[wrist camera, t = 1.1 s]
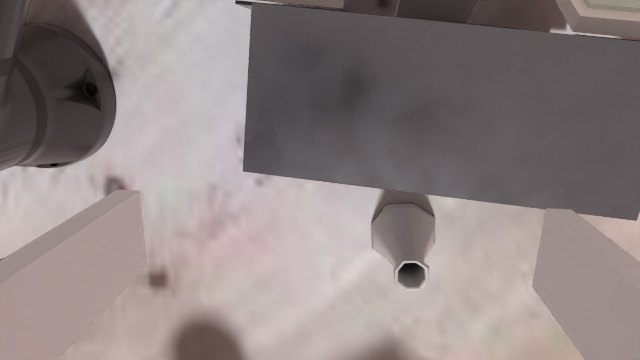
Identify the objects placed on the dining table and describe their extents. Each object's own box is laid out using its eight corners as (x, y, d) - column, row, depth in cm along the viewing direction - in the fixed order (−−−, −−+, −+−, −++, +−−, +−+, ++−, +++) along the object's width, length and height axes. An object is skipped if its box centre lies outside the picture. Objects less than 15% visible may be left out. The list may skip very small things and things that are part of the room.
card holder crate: (538, 151, 46) (660, 223, 27) (279, 120, 48) (221, 168, 29) (563, 47, 43) (721, 46, 24) (286, 19, 45) (228, -3, 26)
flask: (381, 193, 49) (384, 228, 39) (445, 211, 49) (465, 251, 39) (361, 251, 51) (361, 298, 41) (423, 269, 51) (437, 320, 41)
